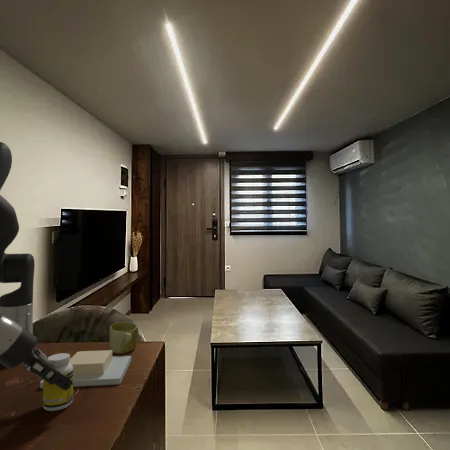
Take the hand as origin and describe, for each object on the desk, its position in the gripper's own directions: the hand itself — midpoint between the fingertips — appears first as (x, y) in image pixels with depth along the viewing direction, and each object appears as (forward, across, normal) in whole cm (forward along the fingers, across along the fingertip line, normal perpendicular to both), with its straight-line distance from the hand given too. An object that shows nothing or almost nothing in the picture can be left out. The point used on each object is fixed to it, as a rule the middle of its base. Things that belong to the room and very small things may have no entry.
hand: (64, 379), depth 76 cm
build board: (+11, +13, -3) cm, 17 cm away
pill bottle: (+3, 0, +5) cm, 6 cm away
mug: (+22, +23, -14) cm, 35 cm away
